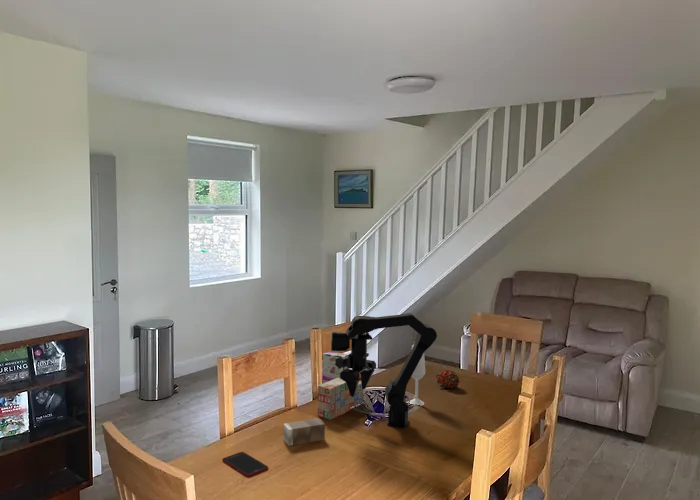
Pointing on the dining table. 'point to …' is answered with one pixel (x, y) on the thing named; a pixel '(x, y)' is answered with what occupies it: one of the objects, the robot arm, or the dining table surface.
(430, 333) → the robot arm
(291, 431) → the silver metal block
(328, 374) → the candy bar box
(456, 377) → the dragon fruit
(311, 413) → the dining table surface
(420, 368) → the champagne flute
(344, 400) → the stack of blocks
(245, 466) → the cell phone
